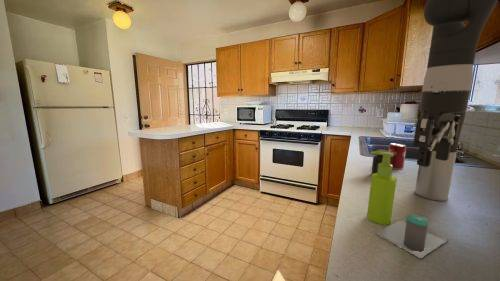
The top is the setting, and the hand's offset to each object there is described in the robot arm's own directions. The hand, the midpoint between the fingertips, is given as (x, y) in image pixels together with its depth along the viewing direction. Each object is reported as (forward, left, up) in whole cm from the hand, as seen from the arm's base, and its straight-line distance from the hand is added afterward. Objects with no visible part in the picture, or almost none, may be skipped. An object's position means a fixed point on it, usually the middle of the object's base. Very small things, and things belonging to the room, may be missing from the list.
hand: (432, 162), depth 48 cm
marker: (+4, +1, -20) cm, 20 cm away
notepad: (0, -2, -20) cm, 20 cm away
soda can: (-58, -36, -20) cm, 71 cm away
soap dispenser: (-1, -11, -20) cm, 23 cm away
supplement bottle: (-38, -32, -20) cm, 54 cm away
